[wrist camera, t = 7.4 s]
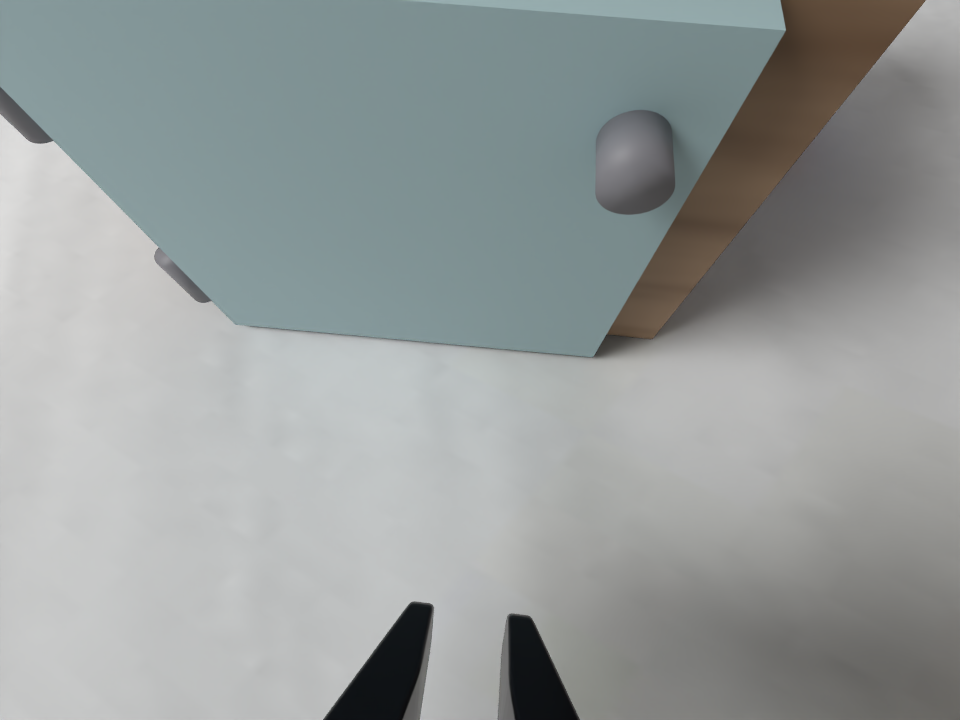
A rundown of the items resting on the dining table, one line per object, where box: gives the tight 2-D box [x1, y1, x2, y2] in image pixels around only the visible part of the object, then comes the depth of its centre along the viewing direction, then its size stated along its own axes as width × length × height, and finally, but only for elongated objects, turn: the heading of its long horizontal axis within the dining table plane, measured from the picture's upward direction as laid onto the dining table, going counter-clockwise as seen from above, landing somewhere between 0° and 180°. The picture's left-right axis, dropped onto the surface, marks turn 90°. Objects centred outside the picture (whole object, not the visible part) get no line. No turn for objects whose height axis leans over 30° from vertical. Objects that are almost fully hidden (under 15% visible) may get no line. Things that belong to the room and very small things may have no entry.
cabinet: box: [607, 0, 926, 339], centre depth 15 cm, size 7×18×15 cm, turn 83°
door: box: [0, 0, 786, 357], centre depth 14 cm, size 15×2×13 cm, turn 85°
